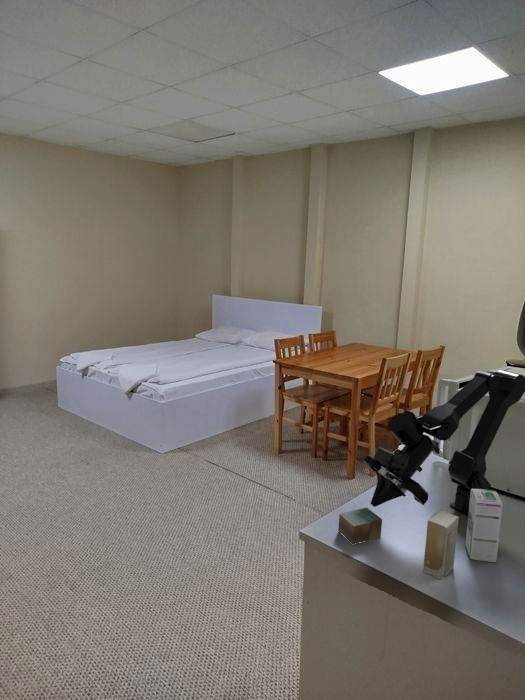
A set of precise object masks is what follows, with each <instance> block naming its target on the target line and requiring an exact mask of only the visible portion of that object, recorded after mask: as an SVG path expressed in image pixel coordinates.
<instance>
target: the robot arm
mask: <svg viewBox="0 0 525 700" xmlns="http://www.w3.org/2000/svg"><path fill="white" fill-rule="evenodd" d="M487 394H488V398H489V399H488V401H487V403H486V406H485V408H484V410H483V412H482V414H481V416H480V418H479V421H478V422H477V425H476V427H475V429H474V431H473V433H472V435H471V437H470V439H469V441H468V442H467V445H466V447H465V448H463V450H460V451H458V450H455V451H454V452H453V455H452V458H451V459H450V461H449V462H448V464H449V465H448V470H447V471H448V473H449V476H450V481H451V482H452V483H454V484H456V485H457V486H456V492H455V496H454V501H453V502H450V503H449V506H450V507H451V508H452V509H455V510H457V511H459V512H461V513H462V514H463V515H464V514H465V515H466V516H468V513H469V503H470V494H471V489H486V490H490V489H491V487H492V484H491V483H490V482H489V480H487V478H486V477H485V474H486V472H487V461H486V457H487V453H488V451H489V449H490V448H491V445H492V443H493V441H494V440H495V438H496V436H497V433H498V431H499V429H500V427H501V424H502V423H503V421H504V418H505V417H506V414H507V413H508V410H509V408H510V407H512V406H513V405H514V404H516V403H517V402H519V401H521V399H522V397H523V396H524V394H525V376H524V375H523V374H520V373H515V372H512V371H508V370H505V369H499V370H497V371H496V370H495V371H489V370H488V371H484V370H479V371H477V372H476V373H474V376H473V378H471V380H470V381H468V382H467V383H466V384H465V385H464V386H463V387H461V389H460V390H459V391H457V392H456V393H455V394H454V395H453V396H452V397H451V398H450V399H449V400H448V401H447V402H445V403H444V404H442V405H437V406H435V407H432V408H431V409H429V410H428V411H427V412H425V413H424V414H422V415H420V416H418V417H416V415H415V413H414V412H413V411H411V410H409V409H405V411H404V412H399V413H397V414H396V415H393V416H391V418H390V419H389V421H388V425H387V427H388V428H387V429H388V430H389V431H390V432H391V433H392V434H393V435H394V436H395V438H396V439H397V440H398V441H399V443H401V444H402V445H403V447H402V449H399V448H396V449H395V450H394V451H390V450H388V449H386V448H383V447H381V446H378V447H377V448H376V451H375V453H374V454H367V456H366V457H365V458H364V459H363V462H364V464H365V465H367V466H368V468H370V470H371V471H372V472H374V473H375V475H376V478H377V482H376V486H375V489H374V491H373V495H372V498H371V501H370V505H371V506H372V507H374V508H375V507H378V506H380V505H383V504H384V503H387V502H389V501H392V500H394V499H398V498H400V497H404V498H405V497H406V496H407V495H406V492H407V491H408V492H409V493H411V494H412V496H413V498H414V500H415V501H416V502H418V503H419V504H421V505H422V506H424V505H425V504H426V503H427V501H429V493H428V491H427V490H426V489H425V488H424V487H423V486H422V485H421V484H420V483H419V482H417V481H416V480H414V479H413V478H412V477H413V476H414V475H415V473H416V472H418V473H421V472H422V471H423V468H422V467H421V466H422V464H424V463H425V461H426V460H427V458H428V457H429V456H430V455H431V454H432V452H433V453H435V454H437V455H439V454H440V447H439V445H440V442H438V441H436V440H434V439H437V440H439V441H444V442H445V441H447V440H449V439H450V438H451V437H452V436H453V434H454V433H455V432H456V431H457V430H458V428H459V425H460V420H461V419H462V417H463V416H465V415H466V414H467V413H468V412H469V411H470V410H471V409H472V408H473V407H474V406H475V405H476V404H478V403H479V402H480V401H481V400H482V399H483V397H485V396H486V395H487ZM424 433H425V434H424ZM430 436H431V437H433V438H434V439H432V438H431V437H430Z"/></svg>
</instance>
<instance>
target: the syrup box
mask: <svg viewBox="0 0 525 700" xmlns="http://www.w3.org/2000/svg"><path fill="white" fill-rule="evenodd" d="M503 504H504V503H503V502H502V499H501V498H500V496H499V494H498V492H497V491H496V490H486V489H471V494H470V503H469V513H468V515H467V524H466V526H467V527H466V534H465V549H466V551H467V554H468V557H469V559H471V560H474V561H475V560H476V561H482V562H489V563H490V562H491V563H497V558H498V548H499V539H500V532H501V522H502V521H501V520H502V512H503Z"/></svg>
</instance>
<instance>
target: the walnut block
mask: <svg viewBox="0 0 525 700" xmlns="http://www.w3.org/2000/svg"><path fill="white" fill-rule="evenodd" d="M338 516H339V517H338V530H337V532H338V531H339V532H340V533H342V534H343V535H344V536H345V537H346V538H347V539H348V540H349V541H350V542H351V543H352V544H355V543H359V542H363V541H367V542H370V541H369V540H371V541H374V540H377V539H378V540H379V539H381V538H382V536H381V535H382V527H383V526H382V525H383V519H382V518H381V517H380V516H378V515H377V514H376V513H375V512H373V511H372V510H371V509H369V508H368V507H362V508H358V509H354V510H349V511H345V512H341V513H339V515H338ZM339 532H338V533H339ZM340 533H339V534H340ZM348 540H347V541H348ZM349 541H348V542H349ZM350 542H349V543H350ZM351 543H350V544H351ZM363 543H364V542H363ZM352 544H351V545H352Z"/></svg>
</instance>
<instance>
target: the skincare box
mask: <svg viewBox="0 0 525 700" xmlns="http://www.w3.org/2000/svg"><path fill="white" fill-rule="evenodd" d="M459 519H460V517H459V516H458V515H455V514H454V513H453V514H452V513H449V512H447V511H445V510H442V509H439V510H437V511H436V512H435V513H433V514H432V515H431V517H429V518H428V519H427V526H426V536H425V538H426V539H425V547H424V558H423V559H424V560H423V566H422V567H423V568H422V571H423V573H424V572H425V573H427V574H429V575H430V576H433V577H435V578H437V579H439V580H441V581H442V580H443V579H445V578H446V576H447V575H449V573H450V572H451V571H452V570H453V569H454V565H455V559H456V558H455V555H456V548H457V547H456V545H457V537H458V530H459V529H458V527H459Z"/></svg>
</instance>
